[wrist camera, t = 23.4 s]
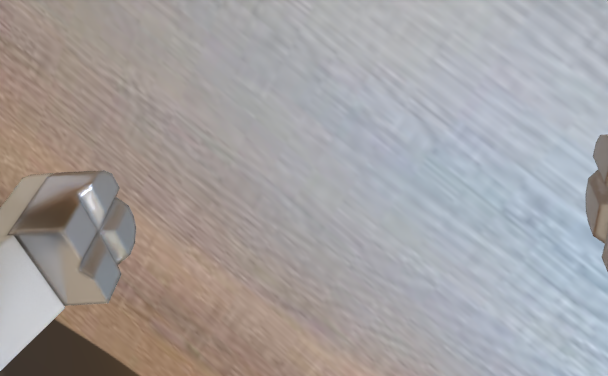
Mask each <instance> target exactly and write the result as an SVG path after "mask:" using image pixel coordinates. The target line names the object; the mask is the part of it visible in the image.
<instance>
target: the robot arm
mask: <svg viewBox="0 0 608 376" xmlns="http://www.w3.org/2000/svg"><path fill="white" fill-rule="evenodd" d="M593 158H594V160H595V162H596V164H597V167H598V170H597V171H596V172H595V173H594V174H593V175H592V176H590V177H589V178H588V183H587V189H586V214H587V218H588V223H589V226H590V229H591V231H592V234H593V236H594V237H596V238H597V239H599V240H600V241H602V242H603V243H605V246H604V250H603V254H602V259H603V262H604V264H605V266H606V269H607V271H608V134H605V135H600V136H599V138H598V140H597V142H596V145H595V149H594V153H593ZM118 191H119V186H118V184H117V182H116V180H115V179H114V177H113V175H112V174H111V173H109V172H106V171H104V170H103V171H83V172H62V173H54V174H53V173H47V174H32V175H29V176H26V177H24V178H22V179H21V181H20V182H19V183H18V185H17V186H16V187H15V189H14V190H13V191H12V193H11V194H10V195H9V197H8V198H7V199H6V201H5V202H4V203H3V205H2V206H1V207H0V371H1V370H2V369H3V368H4V367H5V366H6V365H7V364H8V363H9V362H10V361H11V360H12V359H13V358H14V357H15V356H16V355H17V354H18V353H19V352H20V351H21V350H22V349H23V348H24V347H25V346H27V344H29V343H30V342H31V341H32V340H33V339H34V338H35V337H36V336H37V335H38V334H39V333H40V332H41V331H42V330H43V329H44V328H45V327H46V326H47V325H48V324H49V323H50V322H51V321H52V320H53V319H54V318H55V317H56V316H57V315H58V314H59V313H60V312H62V311H63V310H64V309H65V306H67V305H85V304H104V303H109V300H110V298H111V296H112V294H113V292H114V289H115V287H116V285H117V283H118V281H119V278H120V276H121V272H120V269H119V267H118V264H120V263H121V262H122V261H123V260H124V259H126V258H127V257H128V256H129V255H130V254H131V251H132V249H133V246H134V244H135V235H136V225H135V220H134V216H133V214H132V212H131V210H130V208H129V206H128V205H127V204H125V203H124V202H122V201H121V200H120V199H118V198H117V194H118Z"/></svg>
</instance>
